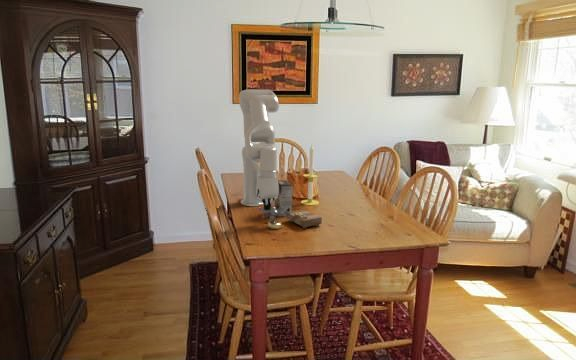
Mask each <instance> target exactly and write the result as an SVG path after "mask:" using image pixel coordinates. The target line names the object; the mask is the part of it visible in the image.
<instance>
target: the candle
mask: <svg viewBox="0 0 576 360" xmlns="http://www.w3.org/2000/svg"><path fill="white" fill-rule="evenodd" d="M314 155H315V148H314V146H313V144H311V146H310V148H309V163H308V164H309V168H308V173H305V174H302V176H303V177H304V178H308V181H307V184H308V186H307V188H308V189H307V199H304V200H301V201H300V203H301V204H302V205H303V206H317V205H319V204H320V201H318V200H315V199H313V197H314V196H313V193H314V192H313V191H314V179H316V178H319V176H320V175H319V174H318V173H317V174H316V173H314V160H315V159H314V157H315V156H314Z"/></svg>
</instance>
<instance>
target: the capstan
mask: <svg viewBox="0 0 576 360" xmlns="http://www.w3.org/2000/svg"><path fill="white" fill-rule="evenodd" d="M281 210H283V208H282V207H280V208H278V209H275V205H274V206H272V205H271V207H270V209H269V210H267V209H264V208H261V207H259V206H257V208H256V211H257V212H262V213H264V214H261V217H262V218H263V219H265V218H267V217H269V221H268V222H267V228H268V229H271V230H279V229H281V228H282V222H281V221H278V220H276V216H279V217H285V218H287V214H285V213H280V212H279V211H281Z"/></svg>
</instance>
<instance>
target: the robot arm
mask: <svg viewBox="0 0 576 360" xmlns="http://www.w3.org/2000/svg"><path fill="white" fill-rule="evenodd" d="M238 102H239V106H240V107H239V108H240V110H241V112H242V116H243V134H244V146H243V148H242V150H241V157H242V164H243V165H242V166H243V167H242V168H243V193H242V196H243V199H241V200H240V204H241V205H242V206H247V207H259V206H262V205H263V209H267V210H269V209H270V207H271V206H272V204H273V202H275V199H277V198H278V193H279V186H278V181H279V179H278V175H277V174H279V170H278V169H277V157H278V156H277V154H278V153H277V147H276V139H275V138H276V136H275V135H276V133H275V129H274V127H273V125H272V124H270V118H269V113H270V114H272V113H274V114H275V113H277V112H278V111H279V108H280V103H279V99H278V96H277V95H276V93H274V91H273V90H270V89H244V90H242V91H240V92H239V94H238ZM258 164H259V165H258Z"/></svg>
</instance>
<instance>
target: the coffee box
mask: <svg viewBox="0 0 576 360" xmlns="http://www.w3.org/2000/svg"><path fill="white" fill-rule="evenodd" d="M278 186H279V193H278V198H277V199H274V207H275V209H278V208H280V207H282V208H283V210H281V211H279V212H280V213H285V214H287V213H288V212H293V188H294V187H293V186H294V185H293V184H292V183H291V182H289V181H288V180H287V179H286V180H278Z"/></svg>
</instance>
